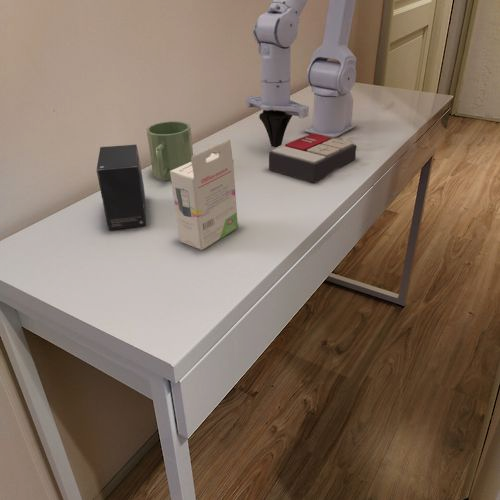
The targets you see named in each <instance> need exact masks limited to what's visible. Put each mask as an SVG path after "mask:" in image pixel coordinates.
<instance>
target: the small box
mask: <svg viewBox="0 0 500 500" xmlns="http://www.w3.org/2000/svg"><path fill="white" fill-rule="evenodd" d="M96 176H97V180H98V185H99V190H100V196H101V200H102V204H103V210H104V216H105V222H106V228H107V231H110V230H120V229H127V228H135V227H144V226H146V225H147V214H146V213H147V212H146V210H147V208H146V193H145V185H144V177H143V171H142V165H141V161H140V155H139V149H138V145H137V144H125V145H112V146H100V147H99V152H98V158H97V165H96Z"/></svg>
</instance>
